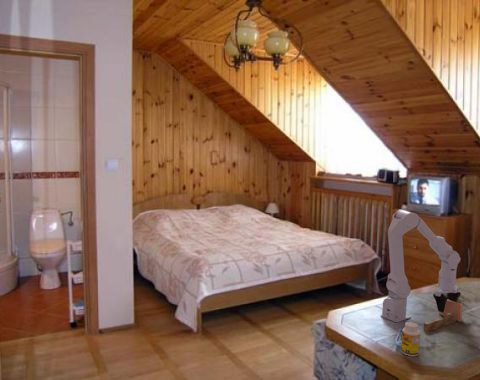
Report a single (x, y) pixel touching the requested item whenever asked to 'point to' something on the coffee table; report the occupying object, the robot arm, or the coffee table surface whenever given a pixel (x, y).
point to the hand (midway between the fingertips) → (445, 309)
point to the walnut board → (439, 322)
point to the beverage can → (439, 281)
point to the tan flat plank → (453, 309)
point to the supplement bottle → (410, 339)
